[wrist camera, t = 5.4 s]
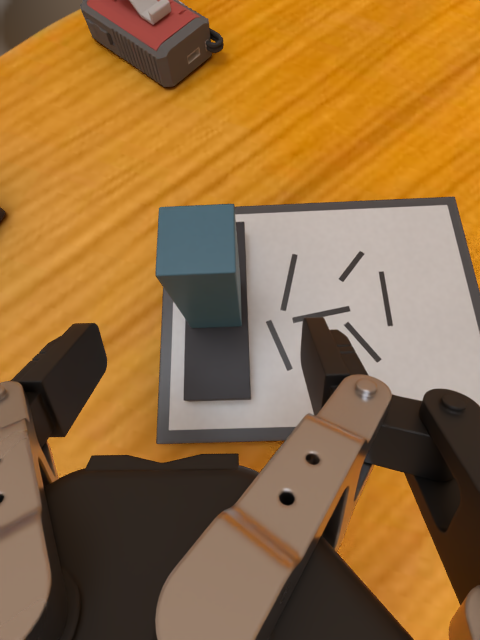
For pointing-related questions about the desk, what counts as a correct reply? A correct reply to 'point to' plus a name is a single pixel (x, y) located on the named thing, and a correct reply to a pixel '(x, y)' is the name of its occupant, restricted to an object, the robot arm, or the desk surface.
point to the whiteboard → (337, 311)
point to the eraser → (208, 297)
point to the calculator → (2, 214)
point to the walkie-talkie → (153, 35)
